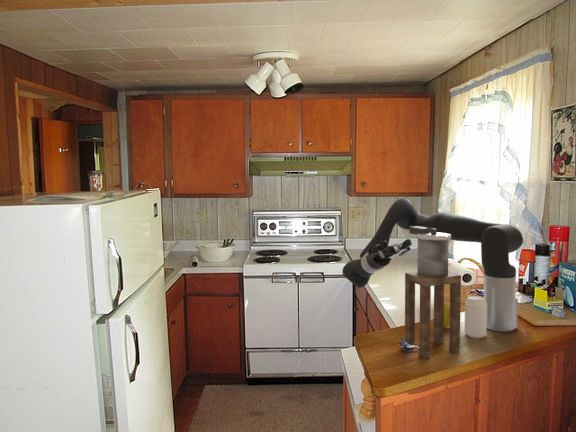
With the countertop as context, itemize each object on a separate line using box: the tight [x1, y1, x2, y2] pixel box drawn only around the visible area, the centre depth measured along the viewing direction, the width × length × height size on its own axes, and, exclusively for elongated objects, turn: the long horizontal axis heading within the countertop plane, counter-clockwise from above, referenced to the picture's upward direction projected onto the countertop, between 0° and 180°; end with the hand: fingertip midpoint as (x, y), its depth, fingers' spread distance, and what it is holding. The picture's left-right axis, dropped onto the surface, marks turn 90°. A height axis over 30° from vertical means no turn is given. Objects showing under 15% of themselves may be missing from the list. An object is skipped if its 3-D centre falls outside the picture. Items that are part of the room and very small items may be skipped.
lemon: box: [444, 303, 450, 329], centre depth 146 cm, size 6×6×8 cm
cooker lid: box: [408, 226, 451, 241], centre depth 128 cm, size 9×14×3 cm, turn 20°
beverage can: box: [464, 295, 488, 339], centre depth 138 cm, size 6×6×12 cm
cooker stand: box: [404, 239, 462, 359], centre depth 128 cm, size 12×9×32 cm
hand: (398, 242), depth 143 cm, fingers open, 8 cm apart
